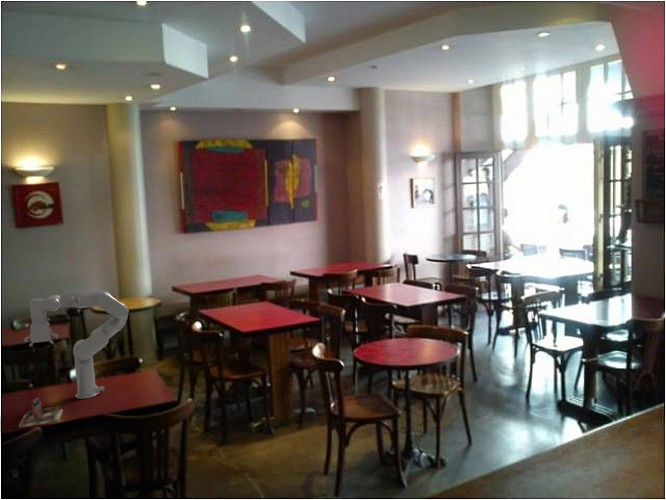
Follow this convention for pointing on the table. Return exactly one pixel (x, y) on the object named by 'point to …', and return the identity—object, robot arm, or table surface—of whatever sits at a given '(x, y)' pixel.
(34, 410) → the lighter
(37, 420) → the square beige tray
